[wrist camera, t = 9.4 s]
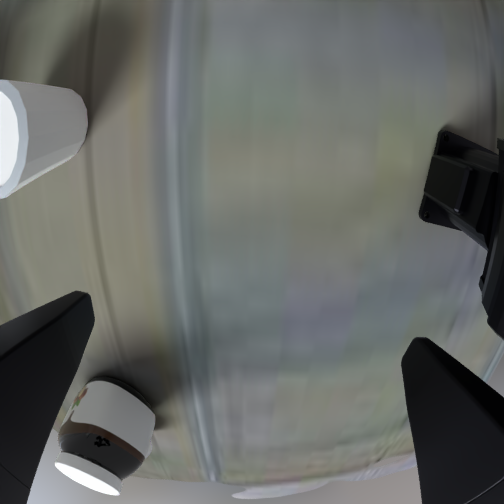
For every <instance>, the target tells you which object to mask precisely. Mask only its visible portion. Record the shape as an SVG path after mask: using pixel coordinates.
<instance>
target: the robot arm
mask: <svg viewBox="0 0 504 504" xmlns="http://www.w3.org/2000/svg"><path fill="white" fill-rule="evenodd" d="M444 135H446V140H445V141H444ZM497 148H498V149H499V155H497V154H496V153H494V152H492V151H490V150H488V149H486V148H484V147H482V146H480V145H478V144H476V143H473V142H471V141H469V140H467V139H465V138H463V137H460V136H458V135H456V134H454V133H451V132H449V131H445V130H441V131H440V132H439V133H438V137H437V142H436V147H435V151H434V156H433V157H432V159H431V164H430V168H429V172H428V176H427V180H426V184H425V188H424V196H423V199H422V203H421V206H420V210H419V217H420V219H422V220H423V221H425V222H428V223H433V224H437V225H441V226H445V227H449V228H452V229H456V230H460V231H463V232H464V233H466V234H467V235H468V236H470V237H471V238H472V239H473V240H475V241H476V242H477V243H478V244H480V245H481V246H482V247H483V248H485V249H486V250H487V251H488V253H487V257H486V262H485V266H484V271H483V275H482V276H481V277H480V281H479V287H480V289H481V292H482V304H483V306H484V308H485V311H486V313H487V315H488V319H487V323H488V325H489V326H490V327H491V328H492V329H493V331H494V332H495V333H496V334H497V335H498V336H499V337H501V338H502V339H503V340H504V139H499V138H497ZM425 212H428V213H427V215H426V216H424V214H425ZM94 322H95V317H94V311H93V306H92V300H91V296H90V295H89V294H88V293H86V292H81V291H74V292H71V293H69V294H67V295H65V296H63V297H60V298H58V299H56V300H54V301H52V302H49V303H47V304H45V305H43V306H41V307H38V308H36V309H34V310H32V311H30V312H28V313H26V314H23V315H21V316H19V317H17V318H15V319H13V320H11V321H9V322H7V323H4V324H2V325H0V504H27V500H28V496H29V493H30V488H31V486H32V483H33V480H34V477H35V474H36V471H37V468H38V465H39V462H40V459H41V456H42V453H43V451H44V448H45V445H46V442H47V440H48V437H49V435H50V432H51V430H52V427H53V425H54V422H55V420H56V417H57V415H58V413H59V410H60V408H61V406H62V403H63V401H64V399H65V396H66V394H67V392H68V390H69V387H70V385H71V383H72V381H73V379H74V377H75V374H76V372H77V370H78V367H79V364H80V362H81V359H82V356H83V353H84V350H85V348H86V345H87V342H88V339H89V337H90V334H91V332H92V329H93V326H94ZM401 367H402V374H403V381H404V389H405V397H406V405H407V411H408V417H409V422H410V427H411V432H412V437H413V443H414V448H415V454H416V460H417V467H418V474H419V481H420V489H421V498H422V504H504V397H503V396H501V395H500V394H499V393H498V392H496V391H495V390H494V389H493V388H491V387H490V386H489V385H488V384H486V383H485V382H484V381H483V380H481V379H480V378H479V377H478V376H476V375H475V374H474V373H473V372H471V371H470V370H469V369H467V368H466V367H465V366H464V365H462V364H461V363H460V362H459V361H457V360H456V359H455V358H453V357H452V356H451V355H449V354H448V353H447V352H446V351H444V350H443V349H442V348H440V347H439V346H438V345H436V344H435V343H434V342H432V341H431V340H430V339H428V338H426V337H416V338H414V339H413V340H412V342H411V343H410V345H409V347H408V349H407V351H406V352H405V354H404V356H403V358H402V362H401Z"/></svg>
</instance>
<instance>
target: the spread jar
mask: <svg viewBox="0 0 504 504" xmlns="http://www.w3.org/2000/svg"><path fill="white" fill-rule="evenodd" d="M154 426H155V414H154V411H153V410H152V408H151V406H150V405H149V404H148V402H147V401H146V400H145V399H144V398H143V396H142V395H141V394H140V393H139V392H138V391H136V390H135V389H134V388H132V387H131V386H129V385H128V384H126V383H124V382H122V381H119V380H117V379H114V378H109V377H97V378H94V379H92V380H91V381H89V382H88V383H87V384H86V385H85V386H84V387H83V388H82V389H81V390H80V392H79V393H78V394H77V396H76V397H75V399H74V401H73V403H72V404H71V406H70V408H69V410H68V412H67V414H66V416H65V418H64V420H63V423H62V425H61V427H60V430H59V434H58V443H59V447H60V449H61V452H60V453H59V455H58V457H57V459H56V462H55V466H56V467H57V468H58V469H59V470H60V471H61V472H62V473H64V474H65V475H66V476H68V477H70V478H71V479H73V480H75V481H77V482H78V483H80V484H82V485H84V486H86V487H88V488H91V489H93V490H96V491H99V492H102V493H105V494H109V495H119V494H120V492H121V488H122V485H123V483H122V480H123V479H125V478H127V477H129V476H130V475H132V474H133V473H134V472H135V471H137V469H138V468H139V467H140V466H141V465H142V463H143V461H144V459H146V458H147V457H148V456H149V455H150V453H151V451H152V443H151V438H152V435H153V431H154Z"/></svg>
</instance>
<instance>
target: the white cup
mask: <svg viewBox="0 0 504 504" xmlns="http://www.w3.org/2000/svg"><path fill="white" fill-rule="evenodd" d="M87 128H88V117H87V109H86V106H85V104H84V102H83V100H82V98H81V96H79V95H78V94H77V93H76V92H75V91H73V90H72V89H68V88H62V87H56V86H50V85H43V84H36V83H29V82H20V81H11V80H0V199H2V198H6V197H7V196H9V195H10V194H12V193H14V192H15V191H17V190H18V189H20V188H21V187H23V186H25V185H26V184H28V183H29V182H31V181H33V180H34V179H36V178H38V177H39V176H41V175H43V174H45V173H46V172H48V171H50V170H52V169H53V168H55V167H57V166H59V165H61V164H63V163H64V162H66V161H68V160H69V159H70V158H72V157H73V156H74V155H75V154H77V153H78V151H79V149H80V147H81V146H82V144H83V142H84V141H85V137H86V132H87Z"/></svg>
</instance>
